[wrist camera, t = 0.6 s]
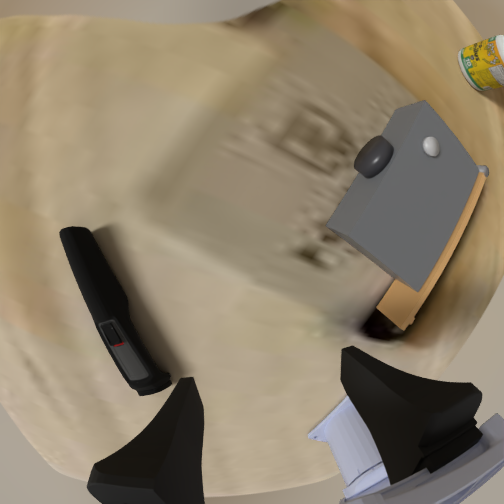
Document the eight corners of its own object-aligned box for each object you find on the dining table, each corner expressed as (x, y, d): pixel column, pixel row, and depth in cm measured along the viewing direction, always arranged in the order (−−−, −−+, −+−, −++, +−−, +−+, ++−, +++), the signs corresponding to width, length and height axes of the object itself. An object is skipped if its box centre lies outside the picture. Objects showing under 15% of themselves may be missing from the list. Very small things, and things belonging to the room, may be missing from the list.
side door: (462, 171, 21) (491, 173, 17) (383, 312, 23) (407, 333, 19) (455, 162, 20) (485, 163, 16) (374, 306, 23) (398, 327, 19)
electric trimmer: (100, 213, 19) (82, 218, 16) (176, 379, 23) (172, 402, 20) (65, 230, 19) (44, 238, 16) (141, 386, 23) (134, 408, 20)
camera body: (449, 169, 21) (483, 170, 16) (391, 276, 22) (421, 294, 18) (387, 101, 19) (420, 88, 14) (315, 218, 20) (339, 228, 16)
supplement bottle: (481, 100, 19) (544, 91, 10) (453, 67, 18) (517, 47, 9) (486, 72, 18) (541, 60, 9) (459, 41, 17) (515, 20, 8)
